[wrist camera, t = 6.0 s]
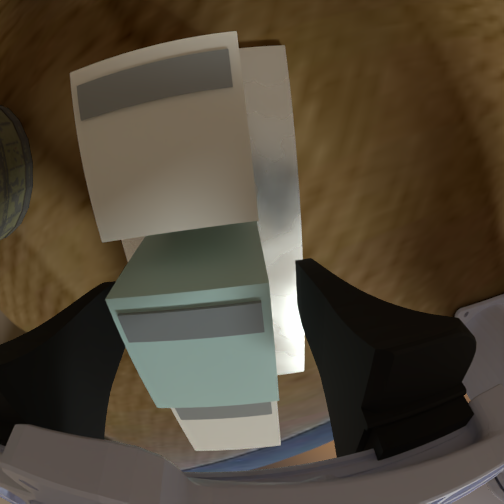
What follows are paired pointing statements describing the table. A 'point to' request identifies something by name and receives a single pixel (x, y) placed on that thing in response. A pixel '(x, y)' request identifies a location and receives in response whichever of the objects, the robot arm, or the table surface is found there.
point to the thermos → (13, 172)
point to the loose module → (199, 317)
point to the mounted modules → (174, 172)
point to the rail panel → (273, 193)
